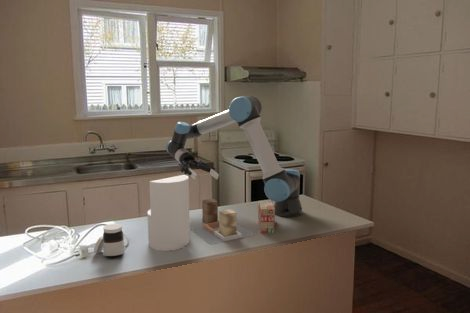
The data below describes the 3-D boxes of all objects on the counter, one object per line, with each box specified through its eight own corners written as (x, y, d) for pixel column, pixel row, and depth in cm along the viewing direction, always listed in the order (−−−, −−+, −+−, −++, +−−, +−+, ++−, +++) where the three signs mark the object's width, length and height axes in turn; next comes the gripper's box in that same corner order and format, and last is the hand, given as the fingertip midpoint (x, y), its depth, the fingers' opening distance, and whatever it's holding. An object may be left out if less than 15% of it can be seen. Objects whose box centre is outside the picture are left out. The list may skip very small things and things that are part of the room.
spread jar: (124, 259, 152) (123, 230, 150) (93, 262, 149) (91, 233, 147) (124, 247, 164) (122, 220, 162) (94, 250, 161) (93, 222, 159)
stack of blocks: (257, 219, 198) (257, 195, 196) (270, 219, 198) (270, 195, 196) (260, 235, 177) (260, 208, 175) (274, 235, 177) (274, 208, 175)
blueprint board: (232, 223, 192) (232, 218, 192) (255, 236, 175) (255, 231, 175) (190, 231, 182) (190, 226, 181) (210, 246, 164) (210, 241, 164)
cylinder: (198, 242, 169) (197, 177, 164) (164, 254, 157) (162, 185, 152) (173, 232, 181) (172, 171, 176) (140, 242, 169) (137, 177, 164)
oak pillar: (230, 232, 177) (230, 209, 176) (236, 236, 173) (236, 212, 171) (219, 235, 175) (219, 210, 173) (225, 239, 170) (225, 214, 168)
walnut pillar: (212, 220, 197) (212, 198, 195) (217, 223, 192) (217, 201, 190) (202, 222, 194) (202, 200, 192) (207, 225, 190) (207, 203, 188)
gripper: (202, 165, 219) (224, 183, 204) (162, 164, 202) (183, 184, 187) (206, 152, 216) (228, 170, 202) (166, 150, 200) (188, 169, 185)
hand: (207, 177), depth 195 cm, fingers open, 13 cm apart
